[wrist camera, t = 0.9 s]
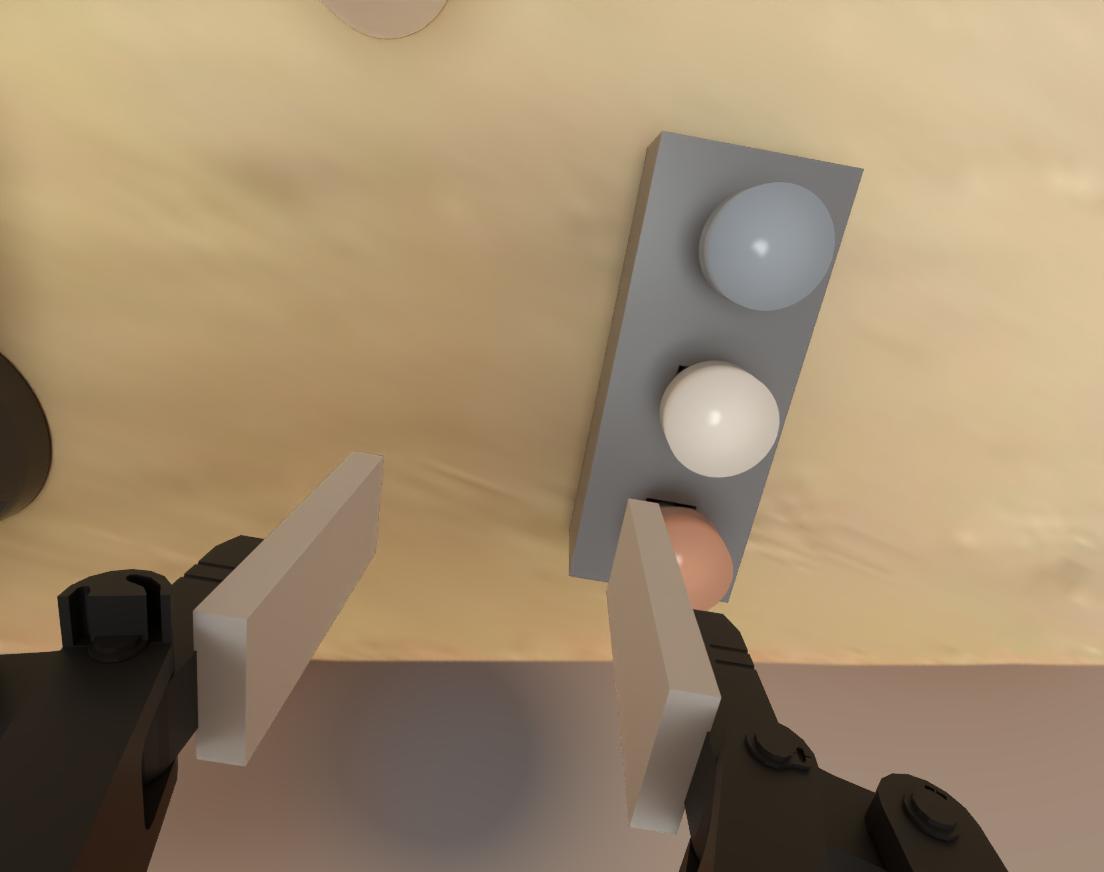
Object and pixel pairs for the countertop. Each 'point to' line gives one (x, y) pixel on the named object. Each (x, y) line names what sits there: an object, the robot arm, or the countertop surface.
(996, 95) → the countertop surface
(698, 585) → the terracotta key
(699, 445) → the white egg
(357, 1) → the cup
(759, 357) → the key panel
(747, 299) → the pale blue knob
